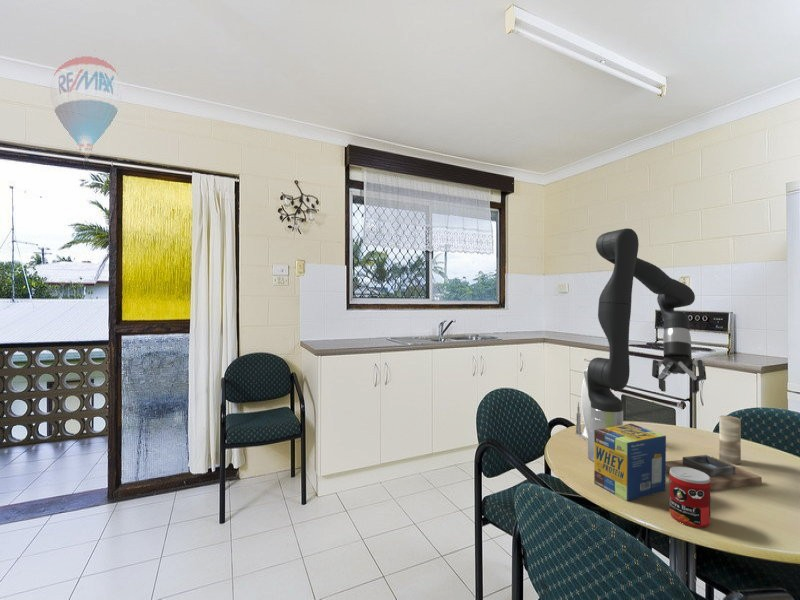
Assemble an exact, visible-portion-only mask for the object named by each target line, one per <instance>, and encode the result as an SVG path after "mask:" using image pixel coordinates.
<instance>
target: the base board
mask: <svg viewBox="0 0 800 600" xmlns="http://www.w3.org/2000/svg"><path fill="white" fill-rule="evenodd" d="M672 467H687V468H692V469H696V470H699V471H701V472H704V473H705V474H707V475H708V476H709V477H710V484H711V491H717V490H724V489H732V488H733V489H734V488H742V487H746V486H748V487H750V486H757V485H762V482H763V481H762V480H763V478H762V477H763V476H760V475H758V474H755V473H753V472H750V471H747V469H746V470H745V469H743V468H740V467H738V466H736V465H734V464H729V463H726V462H724V461H721V460H720V459H719V458H716V457H714V456H710V455H708V454H700V455H692V456H691V455H690V456H683V457H682V459H678V460H668V461H667V460H666V474H669V471H670V468H672Z"/></svg>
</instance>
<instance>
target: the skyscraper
mask: <svg viewBox="0 0 800 600" xmlns="http://www.w3.org/2000/svg"><path fill="white" fill-rule="evenodd" d="M587 370H588V367H587V368H586V369H583V370H582V375H583V381H582V385H581V391H580V394H581V395H580V402H579V401H578V402H577V413H576V426H575V429H576V431H575V435H577V436H578V435H579V436H578V437H580V438H581V437H582V439H583V440H584V439H585V440H584V441H588V430H589V429H591V402H590V399H589V396H588V382H587ZM580 405H581V410H580ZM580 411H581V412H582V413H581V412H580ZM581 415H582V418H583V425H584V426H583V429H581V428H582V424H581ZM585 437H586V438H585ZM586 439H587V440H586Z"/></svg>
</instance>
